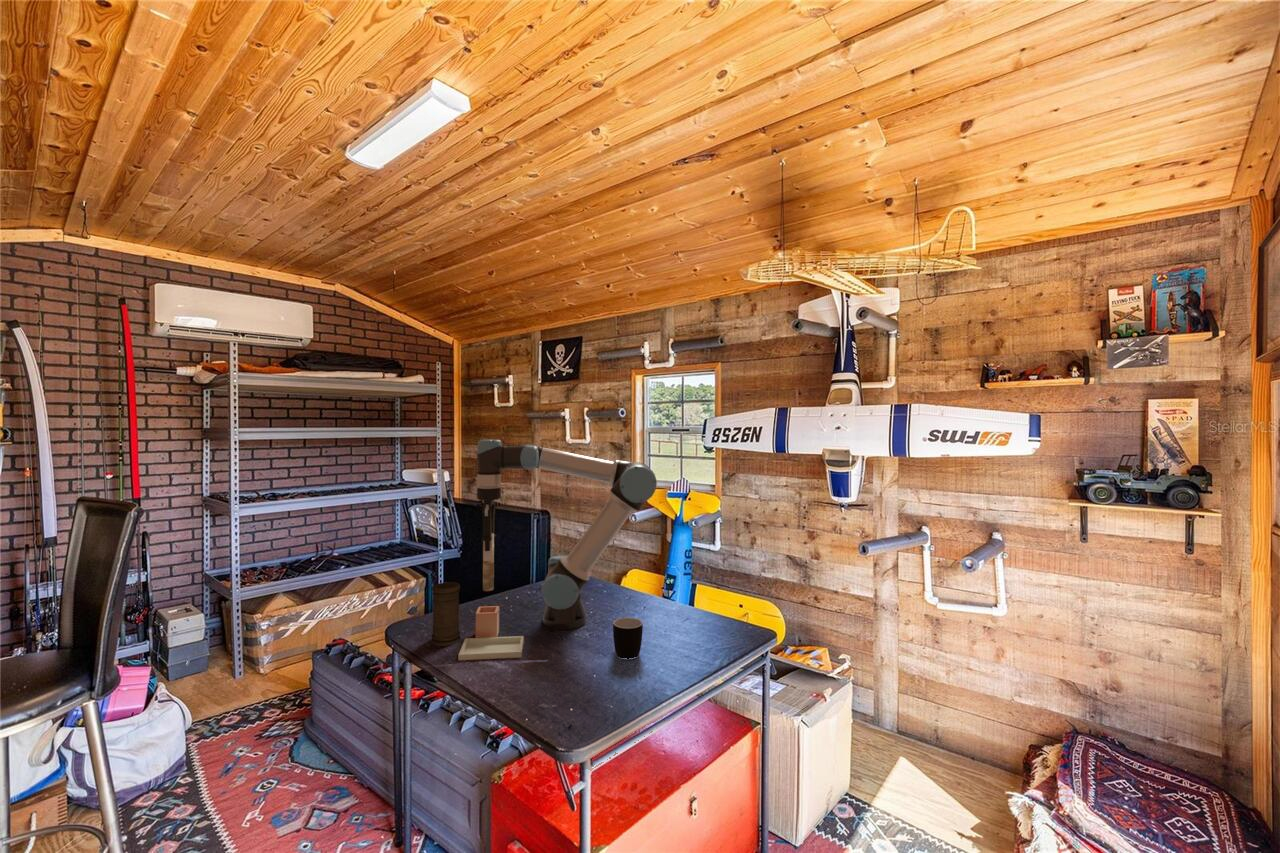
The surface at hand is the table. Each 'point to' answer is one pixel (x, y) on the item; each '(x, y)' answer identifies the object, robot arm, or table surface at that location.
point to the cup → (487, 622)
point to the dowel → (489, 571)
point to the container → (445, 614)
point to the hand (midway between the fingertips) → (488, 558)
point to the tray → (491, 648)
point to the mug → (627, 637)
